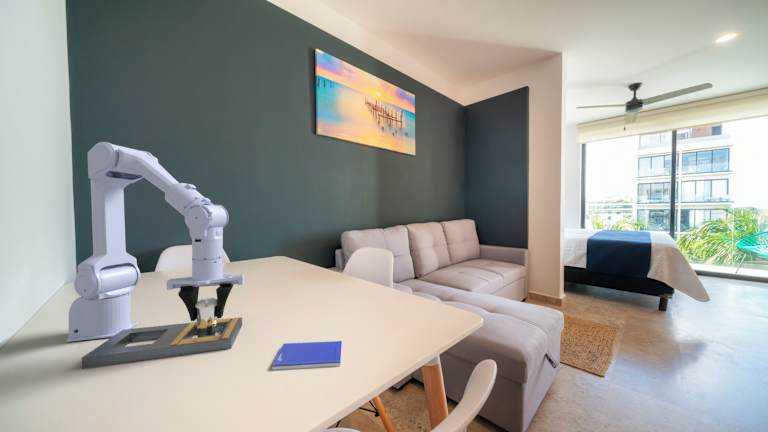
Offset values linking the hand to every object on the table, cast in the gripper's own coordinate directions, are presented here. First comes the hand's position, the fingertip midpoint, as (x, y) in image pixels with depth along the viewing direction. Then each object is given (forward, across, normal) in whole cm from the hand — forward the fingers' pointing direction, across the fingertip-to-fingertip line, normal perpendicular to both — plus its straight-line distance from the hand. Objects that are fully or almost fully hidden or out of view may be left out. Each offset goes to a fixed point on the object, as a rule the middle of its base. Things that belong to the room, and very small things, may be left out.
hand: (207, 318), depth 59 cm
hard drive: (+6, +22, -14) cm, 26 cm away
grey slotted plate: (+5, -6, 0) cm, 8 cm away
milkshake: (+5, 0, 0) cm, 5 cm away
